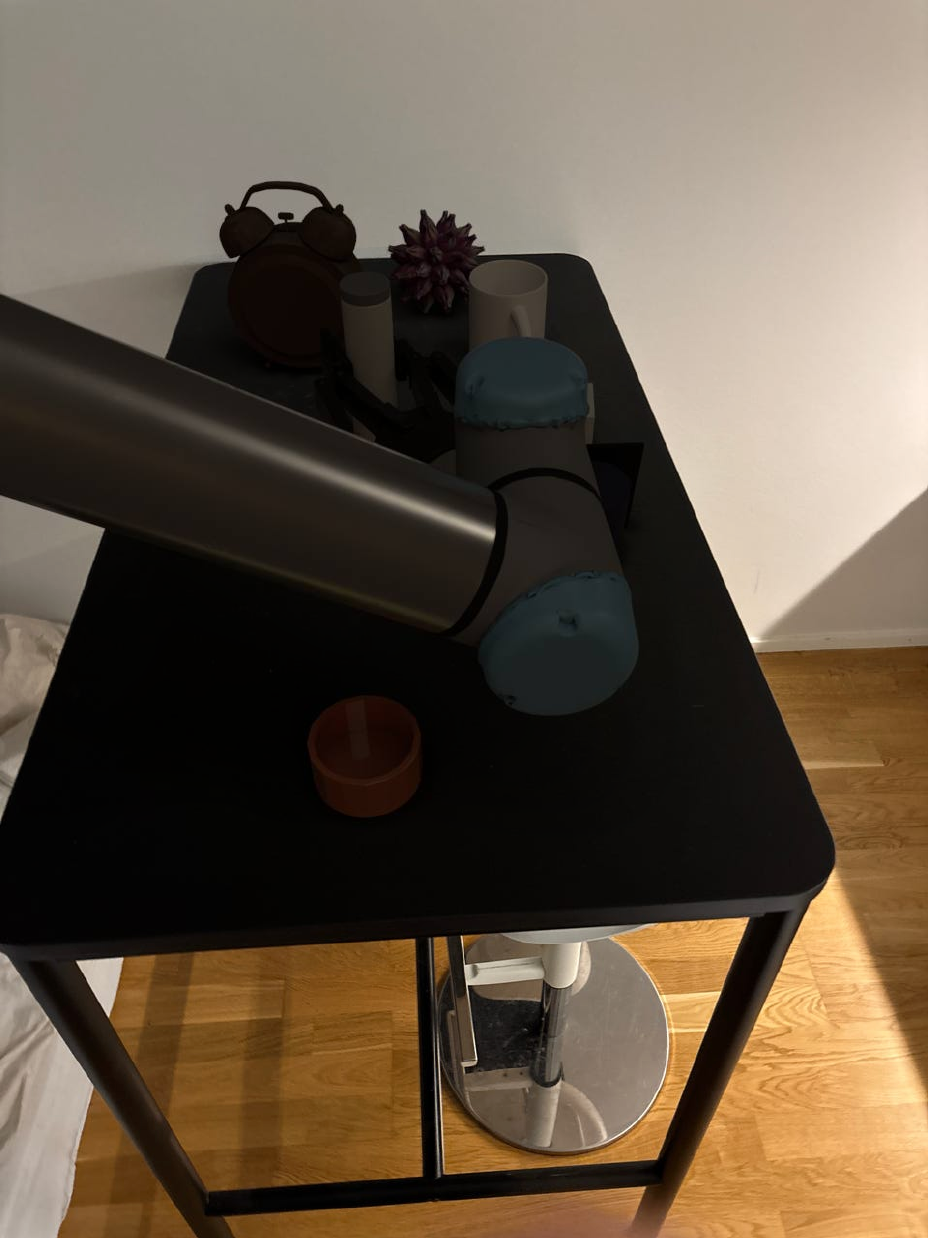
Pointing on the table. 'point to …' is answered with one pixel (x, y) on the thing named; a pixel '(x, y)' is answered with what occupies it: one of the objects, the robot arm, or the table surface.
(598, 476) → the speaker
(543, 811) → the table surface
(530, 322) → the mug
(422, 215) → the flower
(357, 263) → the alarm clock
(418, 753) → the bowl
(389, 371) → the grey-capped cream cylinder
